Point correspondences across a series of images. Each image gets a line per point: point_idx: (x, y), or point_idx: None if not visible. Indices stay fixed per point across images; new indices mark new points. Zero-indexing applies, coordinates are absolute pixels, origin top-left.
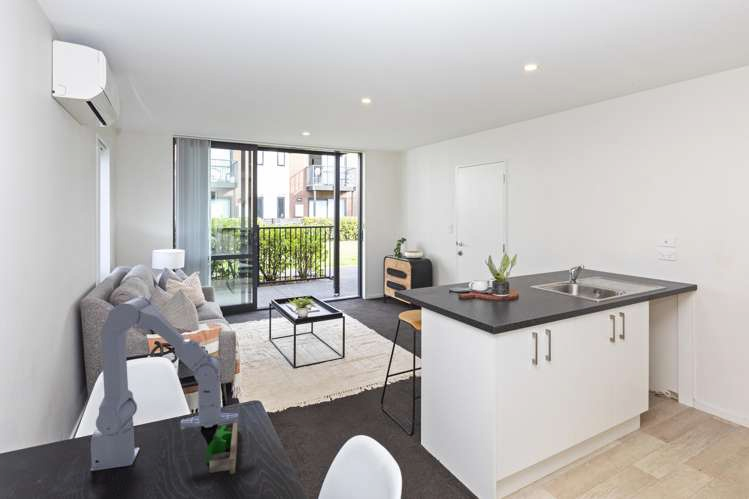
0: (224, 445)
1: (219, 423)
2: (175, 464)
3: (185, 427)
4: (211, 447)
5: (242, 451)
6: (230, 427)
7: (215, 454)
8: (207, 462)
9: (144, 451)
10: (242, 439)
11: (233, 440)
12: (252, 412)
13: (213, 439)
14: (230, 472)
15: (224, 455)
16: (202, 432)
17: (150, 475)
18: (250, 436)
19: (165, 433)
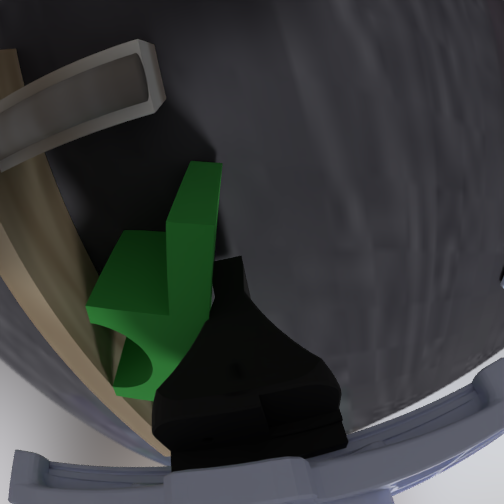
0: (99, 283)
1: (158, 471)
2: (406, 172)
3: (473, 387)
4: (167, 219)
5: None
6: None
7: (74, 97)
8: (210, 162)
9: (491, 275)
10: None
11: (48, 323)
12: None
13: (198, 330)
14: (6, 49)
15: (3, 113)
16: (315, 375)
17: (487, 102)
18: None
19: (427, 363)
